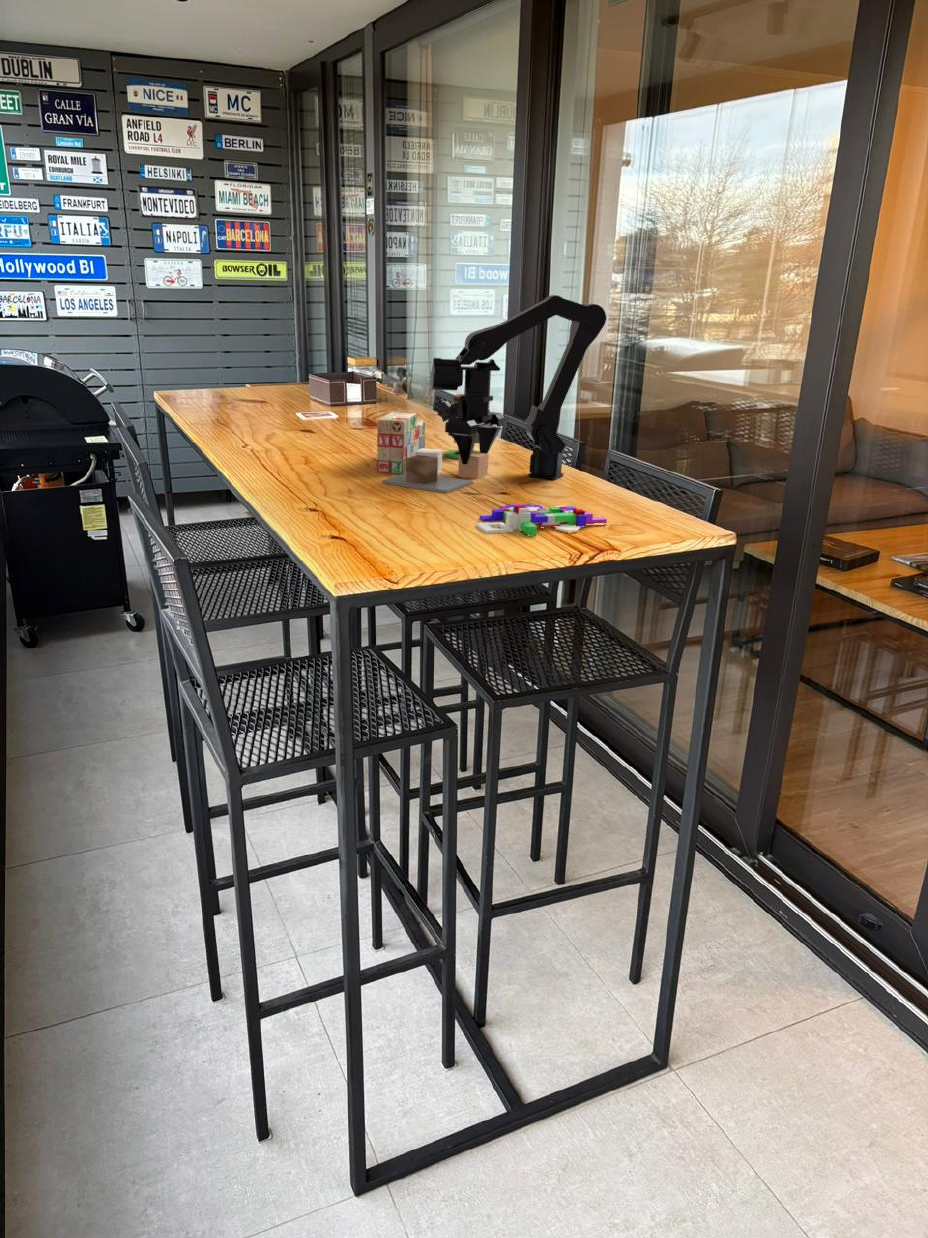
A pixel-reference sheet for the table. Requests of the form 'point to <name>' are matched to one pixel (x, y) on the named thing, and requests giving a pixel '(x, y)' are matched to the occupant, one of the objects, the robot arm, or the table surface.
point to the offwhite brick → (432, 455)
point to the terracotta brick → (474, 466)
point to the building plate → (439, 486)
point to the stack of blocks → (398, 441)
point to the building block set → (536, 519)
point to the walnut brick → (421, 469)
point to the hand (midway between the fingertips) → (474, 461)
